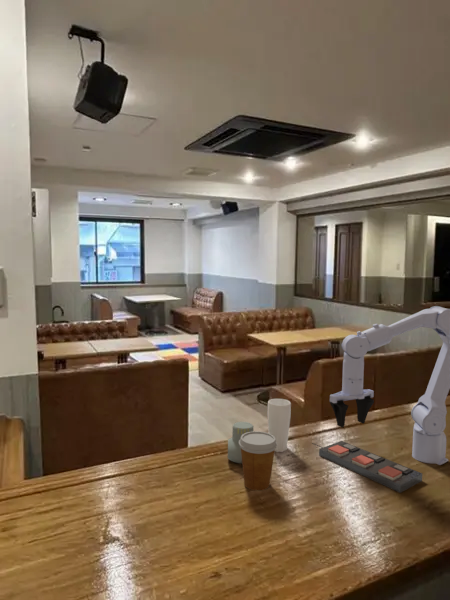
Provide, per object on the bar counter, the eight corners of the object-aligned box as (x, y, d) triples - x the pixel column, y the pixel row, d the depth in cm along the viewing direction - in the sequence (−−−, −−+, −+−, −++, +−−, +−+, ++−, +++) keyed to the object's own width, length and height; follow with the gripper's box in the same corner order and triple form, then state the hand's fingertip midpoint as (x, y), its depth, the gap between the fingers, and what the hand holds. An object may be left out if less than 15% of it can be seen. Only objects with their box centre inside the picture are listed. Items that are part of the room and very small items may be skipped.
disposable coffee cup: (255, 471, 116) (256, 427, 115) (283, 484, 109) (285, 438, 108) (229, 483, 109) (230, 437, 108) (258, 498, 103) (259, 449, 102)
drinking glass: (288, 457, 125) (290, 406, 124) (265, 455, 126) (266, 404, 125) (290, 447, 131) (291, 399, 130) (267, 445, 133) (268, 397, 132)
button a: (336, 454, 125) (337, 444, 125) (348, 459, 122) (348, 449, 122) (327, 457, 123) (328, 448, 122) (339, 463, 119) (339, 453, 119)
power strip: (322, 442, 136) (323, 431, 135) (421, 484, 110) (422, 471, 110) (300, 450, 130) (301, 439, 129) (399, 497, 104) (400, 483, 104)
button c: (387, 476, 112) (387, 465, 112) (401, 482, 109) (402, 471, 109) (378, 480, 110) (378, 470, 110) (392, 487, 107) (393, 476, 106)
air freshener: (258, 468, 118) (259, 432, 117) (227, 468, 118) (228, 432, 117) (255, 451, 129) (256, 418, 128) (227, 450, 129) (228, 417, 128)
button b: (360, 464, 119) (361, 454, 118) (373, 470, 115) (374, 460, 115) (351, 468, 116) (352, 458, 116) (364, 474, 113) (364, 464, 113)
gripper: (342, 383, 117) (340, 432, 118) (382, 378, 123) (380, 425, 124) (325, 377, 123) (323, 424, 124) (364, 372, 129) (362, 417, 130)
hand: (350, 424), depth 125 cm, fingers open, 7 cm apart
